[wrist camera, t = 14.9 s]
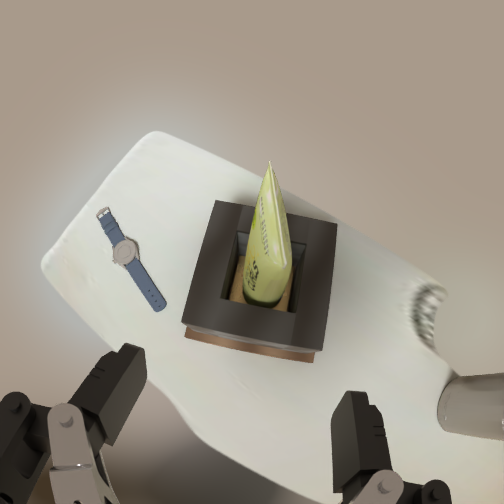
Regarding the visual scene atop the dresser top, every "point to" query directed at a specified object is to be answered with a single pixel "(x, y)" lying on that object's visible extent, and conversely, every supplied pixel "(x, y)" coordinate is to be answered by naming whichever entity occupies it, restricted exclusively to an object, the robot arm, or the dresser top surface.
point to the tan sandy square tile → (238, 287)
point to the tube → (267, 248)
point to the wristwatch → (130, 260)
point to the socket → (254, 317)
